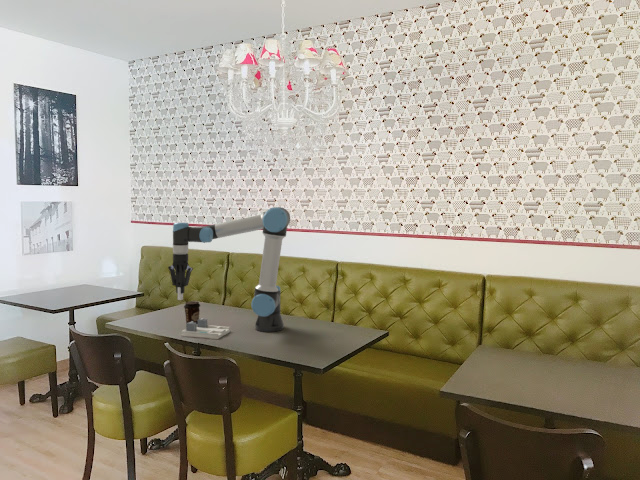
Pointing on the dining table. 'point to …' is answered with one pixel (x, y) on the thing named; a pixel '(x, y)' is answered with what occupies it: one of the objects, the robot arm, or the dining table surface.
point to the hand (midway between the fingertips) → (180, 299)
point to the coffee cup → (192, 311)
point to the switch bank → (207, 332)
